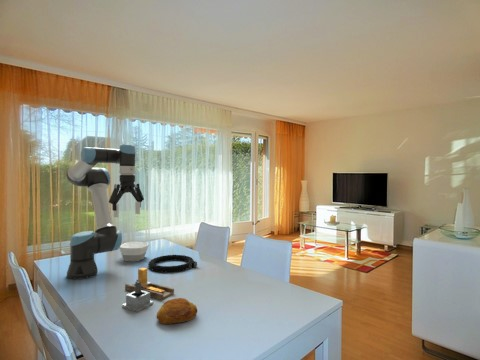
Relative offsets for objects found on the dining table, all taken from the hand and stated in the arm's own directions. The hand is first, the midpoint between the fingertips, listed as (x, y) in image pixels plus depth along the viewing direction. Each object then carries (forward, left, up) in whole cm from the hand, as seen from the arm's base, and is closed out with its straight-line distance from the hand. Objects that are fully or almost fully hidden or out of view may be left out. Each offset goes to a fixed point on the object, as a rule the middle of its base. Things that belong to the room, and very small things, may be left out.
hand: (127, 215), depth 152 cm
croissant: (+47, -15, -35) cm, 60 cm away
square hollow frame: (+26, -16, -34) cm, 45 cm away
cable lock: (+2, +33, -35) cm, 48 cm away
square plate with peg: (+26, -16, -35) cm, 46 cm away
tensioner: (+20, -3, -34) cm, 39 cm away
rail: (+19, -3, -35) cm, 40 cm away
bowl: (-30, +31, -35) cm, 56 cm away
